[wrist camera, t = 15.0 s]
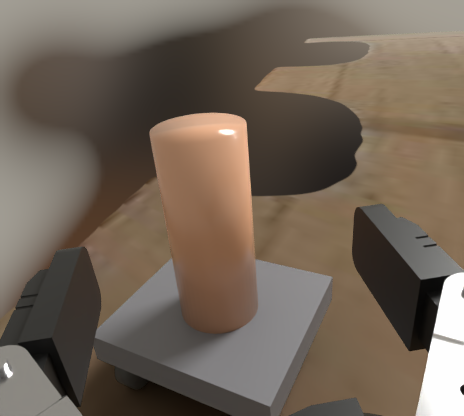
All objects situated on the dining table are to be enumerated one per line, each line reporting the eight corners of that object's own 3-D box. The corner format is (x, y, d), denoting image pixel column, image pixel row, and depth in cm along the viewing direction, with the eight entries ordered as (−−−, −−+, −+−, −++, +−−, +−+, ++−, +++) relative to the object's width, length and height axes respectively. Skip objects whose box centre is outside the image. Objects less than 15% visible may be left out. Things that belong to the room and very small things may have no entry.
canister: (206, 274, 30) (184, 110, 25) (270, 291, 28) (262, 115, 23) (166, 320, 27) (129, 138, 21) (236, 343, 24) (216, 148, 19)
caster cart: (194, 291, 37) (187, 243, 34) (330, 330, 31) (332, 277, 29) (108, 390, 28) (90, 335, 26) (273, 466, 23) (270, 406, 21)
